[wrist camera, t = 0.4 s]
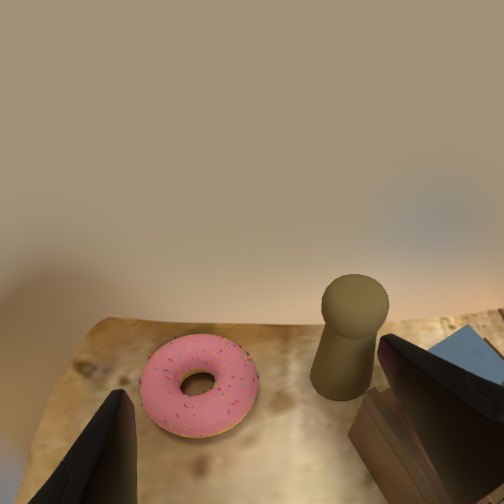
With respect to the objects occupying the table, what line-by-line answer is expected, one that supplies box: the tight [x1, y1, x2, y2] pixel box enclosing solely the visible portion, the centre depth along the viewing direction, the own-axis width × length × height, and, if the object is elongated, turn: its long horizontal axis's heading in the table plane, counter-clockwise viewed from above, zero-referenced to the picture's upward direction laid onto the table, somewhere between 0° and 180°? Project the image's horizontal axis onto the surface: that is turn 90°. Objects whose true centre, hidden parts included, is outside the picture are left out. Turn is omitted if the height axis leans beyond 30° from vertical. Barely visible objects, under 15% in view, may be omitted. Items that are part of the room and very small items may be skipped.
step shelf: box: [348, 338, 504, 504], centre depth 13 cm, size 20×17×8 cm
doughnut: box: [139, 333, 259, 438], centre depth 25 cm, size 11×11×4 cm
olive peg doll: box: [310, 274, 389, 401], centre depth 24 cm, size 6×6×11 cm
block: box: [427, 324, 504, 385], centre depth 15 cm, size 5×5×5 cm
